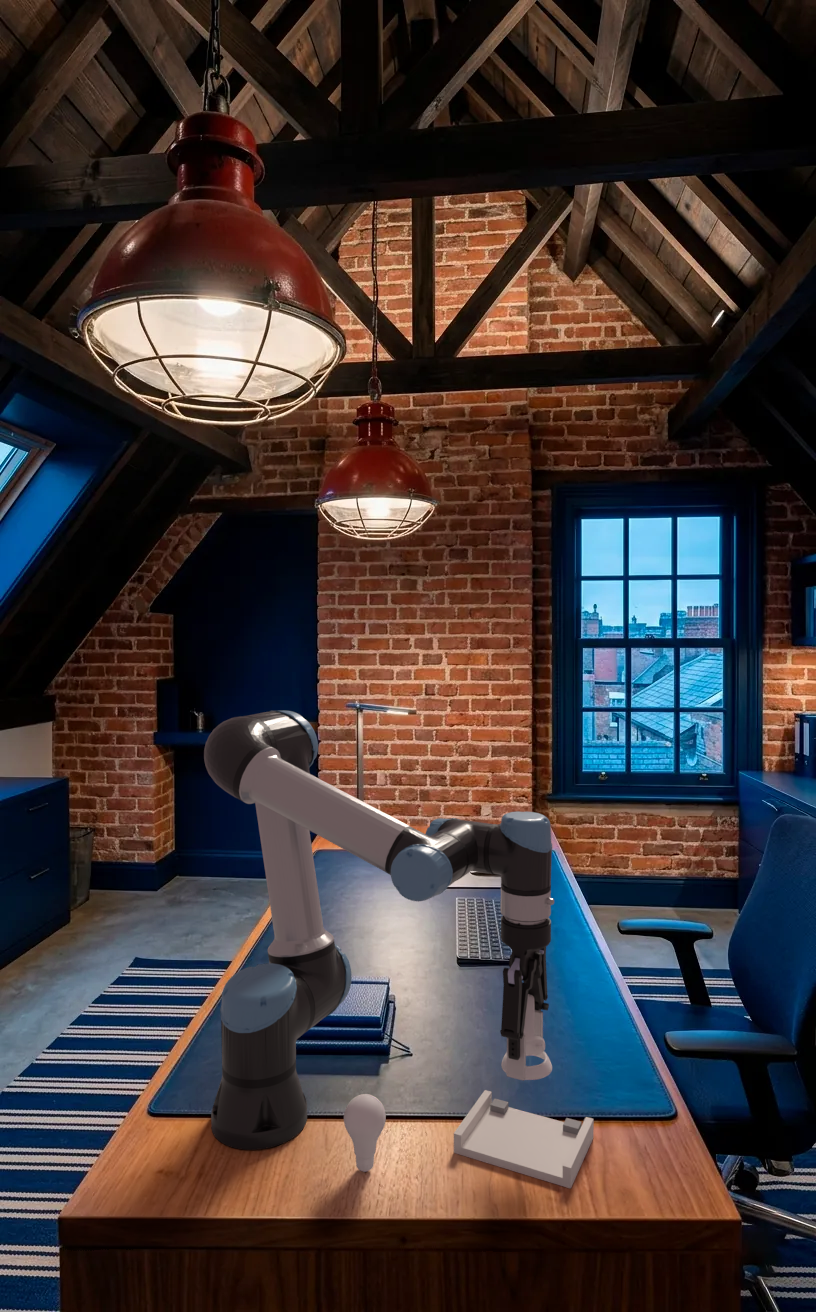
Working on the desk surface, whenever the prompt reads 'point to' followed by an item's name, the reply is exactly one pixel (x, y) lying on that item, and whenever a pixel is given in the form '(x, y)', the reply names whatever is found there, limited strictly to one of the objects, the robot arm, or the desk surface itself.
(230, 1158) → the desk surface
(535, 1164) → the panel
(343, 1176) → the desk surface
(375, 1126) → the lightbulb
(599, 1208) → the desk surface
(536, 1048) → the hook
